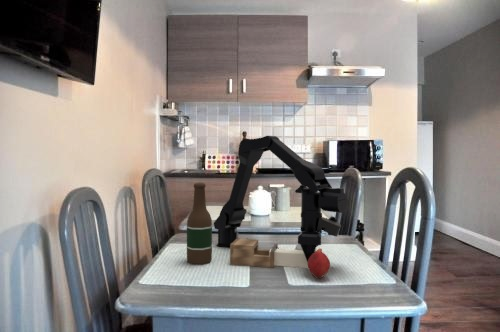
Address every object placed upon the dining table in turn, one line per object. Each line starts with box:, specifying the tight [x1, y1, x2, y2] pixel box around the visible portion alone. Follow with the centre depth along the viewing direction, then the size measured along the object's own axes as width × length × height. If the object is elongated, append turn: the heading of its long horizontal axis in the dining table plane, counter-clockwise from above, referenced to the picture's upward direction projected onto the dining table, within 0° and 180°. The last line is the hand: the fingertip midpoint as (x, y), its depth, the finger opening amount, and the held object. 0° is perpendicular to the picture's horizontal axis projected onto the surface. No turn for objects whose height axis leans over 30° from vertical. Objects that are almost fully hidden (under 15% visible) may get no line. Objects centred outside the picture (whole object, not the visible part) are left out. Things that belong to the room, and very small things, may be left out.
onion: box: [307, 247, 331, 279], centre depth 95 cm, size 6×6×8 cm
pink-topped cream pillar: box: [269, 247, 317, 269], centre depth 107 cm, size 14×4×4 cm, turn 78°
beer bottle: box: [186, 182, 213, 266], centre depth 109 cm, size 8×8×24 cm
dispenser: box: [229, 237, 278, 269], centre depth 109 cm, size 13×8×6 cm, turn 78°
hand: (310, 261), depth 106 cm, fingers closed on pink-topped cream pillar, 4 cm apart
